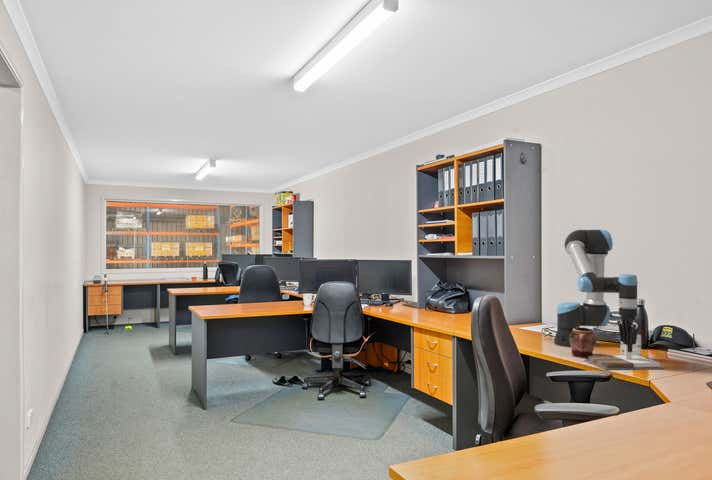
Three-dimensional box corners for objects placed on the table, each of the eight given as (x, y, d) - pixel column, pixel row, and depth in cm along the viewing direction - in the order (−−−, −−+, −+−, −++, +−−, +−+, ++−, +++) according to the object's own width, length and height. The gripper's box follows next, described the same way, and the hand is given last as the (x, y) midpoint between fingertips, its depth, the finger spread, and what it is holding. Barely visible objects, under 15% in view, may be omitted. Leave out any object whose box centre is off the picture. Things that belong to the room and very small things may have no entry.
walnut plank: (588, 360, 227) (588, 356, 227) (612, 359, 228) (612, 355, 228) (607, 368, 212) (607, 363, 212) (633, 367, 213) (633, 363, 213)
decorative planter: (597, 362, 226) (597, 332, 226) (569, 359, 231) (569, 330, 231) (595, 353, 244) (595, 326, 244) (569, 351, 249) (569, 325, 249)
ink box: (641, 358, 234) (641, 334, 234) (640, 360, 230) (640, 336, 230) (621, 356, 239) (621, 332, 239) (620, 358, 235) (620, 334, 235)
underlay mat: (583, 360, 228) (583, 359, 228) (638, 360, 230) (638, 359, 230) (605, 370, 211) (605, 368, 211) (663, 369, 213) (663, 367, 213)
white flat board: (613, 359, 228) (613, 355, 228) (637, 359, 229) (637, 354, 229) (634, 367, 213) (634, 363, 213) (659, 366, 214) (659, 362, 214)
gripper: (611, 305, 228) (611, 355, 227) (629, 309, 215) (629, 361, 214) (626, 305, 228) (626, 355, 228) (645, 309, 215) (645, 361, 215)
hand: (628, 358), depth 221 cm, fingers closed
